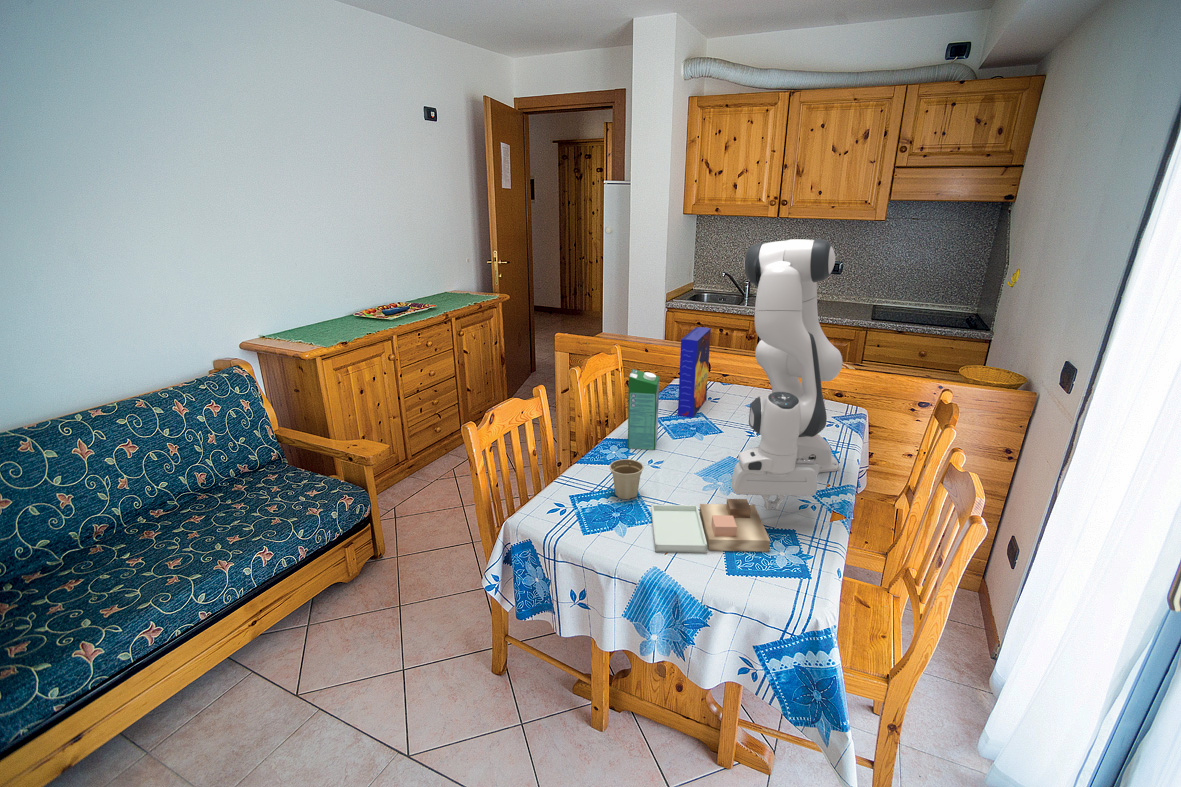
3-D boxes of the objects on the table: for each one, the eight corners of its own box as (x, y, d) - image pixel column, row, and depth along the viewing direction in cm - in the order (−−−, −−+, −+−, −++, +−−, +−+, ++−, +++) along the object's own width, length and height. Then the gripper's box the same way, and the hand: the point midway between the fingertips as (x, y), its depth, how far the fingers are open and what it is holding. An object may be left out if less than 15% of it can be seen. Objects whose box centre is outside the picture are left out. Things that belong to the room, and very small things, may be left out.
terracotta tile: (732, 524, 135) (732, 515, 135) (736, 536, 131) (736, 527, 130) (711, 524, 136) (712, 515, 135) (714, 535, 131) (715, 526, 130)
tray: (696, 511, 147) (697, 505, 146) (707, 552, 130) (707, 545, 129) (651, 511, 147) (651, 504, 147) (655, 551, 130) (655, 544, 130)
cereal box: (693, 417, 209) (697, 340, 199) (677, 415, 212) (681, 338, 202) (706, 399, 228) (710, 327, 218) (692, 397, 230) (695, 326, 220)
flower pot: (607, 486, 160) (607, 459, 157) (640, 485, 161) (640, 457, 158) (611, 503, 151) (611, 475, 148) (645, 501, 152) (646, 473, 149)
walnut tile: (745, 507, 143) (746, 499, 142) (750, 518, 138) (751, 509, 137) (726, 507, 143) (726, 498, 142) (729, 517, 138) (730, 509, 137)
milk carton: (655, 450, 183) (657, 377, 174) (627, 448, 185) (628, 376, 176) (657, 439, 191) (659, 369, 183) (631, 437, 193) (632, 368, 185)
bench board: (753, 514, 145) (754, 504, 144) (768, 551, 130) (770, 540, 129) (699, 513, 146) (699, 503, 145) (708, 550, 131) (709, 539, 130)
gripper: (816, 454, 137) (809, 503, 142) (732, 452, 139) (728, 501, 143) (824, 465, 132) (817, 516, 136) (737, 463, 133) (732, 514, 137)
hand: (771, 508), depth 140 cm, fingers closed
